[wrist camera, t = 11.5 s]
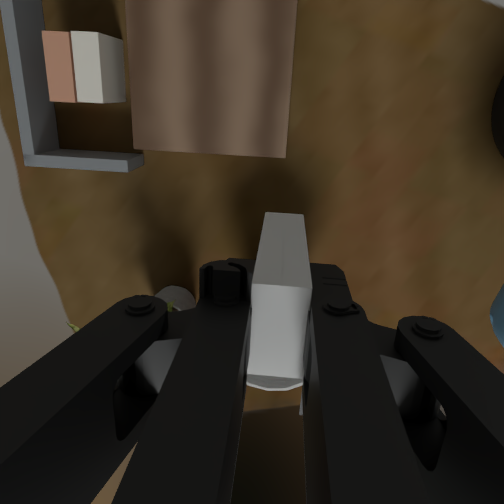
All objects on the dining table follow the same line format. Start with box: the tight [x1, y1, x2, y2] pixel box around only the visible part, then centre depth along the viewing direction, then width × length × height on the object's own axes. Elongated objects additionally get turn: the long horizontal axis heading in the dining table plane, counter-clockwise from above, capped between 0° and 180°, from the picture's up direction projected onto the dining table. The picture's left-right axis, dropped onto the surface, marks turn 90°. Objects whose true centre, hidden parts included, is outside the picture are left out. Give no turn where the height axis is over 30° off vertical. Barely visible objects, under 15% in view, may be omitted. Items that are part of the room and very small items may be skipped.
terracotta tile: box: [42, 31, 80, 103], centre depth 41 cm, size 6×6×2 cm
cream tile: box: [71, 31, 126, 103], centre depth 41 cm, size 6×6×2 cm
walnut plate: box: [125, 0, 297, 158], centre depth 41 cm, size 16×15×3 cm
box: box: [0, 0, 144, 172], centre depth 41 cm, size 11×19×5 cm, turn 177°
